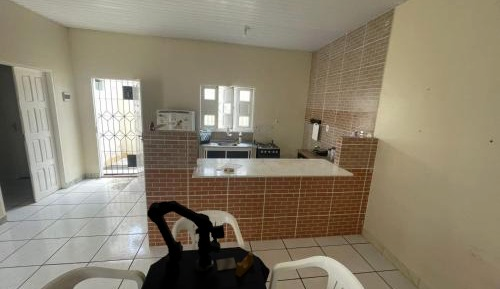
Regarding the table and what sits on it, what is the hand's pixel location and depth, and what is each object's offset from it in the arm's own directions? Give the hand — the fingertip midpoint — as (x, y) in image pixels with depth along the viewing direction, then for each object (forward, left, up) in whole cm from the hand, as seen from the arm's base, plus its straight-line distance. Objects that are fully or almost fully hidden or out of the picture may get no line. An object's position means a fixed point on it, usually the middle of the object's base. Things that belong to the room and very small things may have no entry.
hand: (204, 266), depth 115 cm
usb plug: (+1, 0, -1) cm, 2 cm away
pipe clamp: (+21, -5, -1) cm, 21 cm away
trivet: (+12, 0, -1) cm, 12 cm away
